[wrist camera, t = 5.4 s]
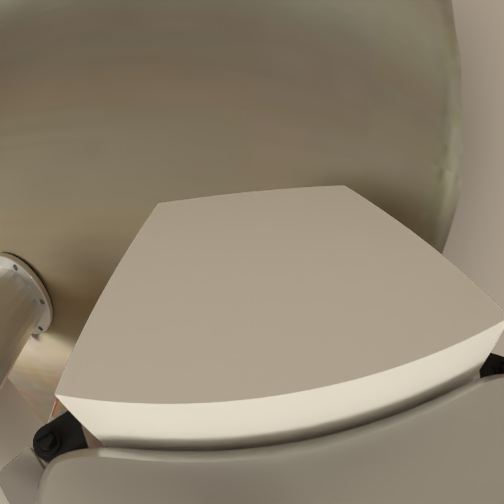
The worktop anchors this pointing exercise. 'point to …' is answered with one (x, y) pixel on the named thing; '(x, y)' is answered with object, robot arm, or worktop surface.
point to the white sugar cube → (272, 324)
